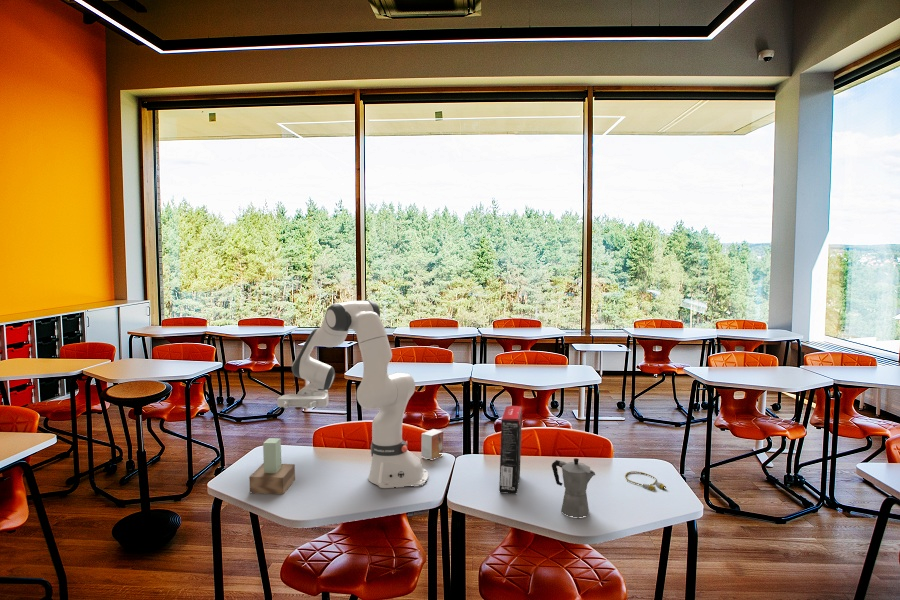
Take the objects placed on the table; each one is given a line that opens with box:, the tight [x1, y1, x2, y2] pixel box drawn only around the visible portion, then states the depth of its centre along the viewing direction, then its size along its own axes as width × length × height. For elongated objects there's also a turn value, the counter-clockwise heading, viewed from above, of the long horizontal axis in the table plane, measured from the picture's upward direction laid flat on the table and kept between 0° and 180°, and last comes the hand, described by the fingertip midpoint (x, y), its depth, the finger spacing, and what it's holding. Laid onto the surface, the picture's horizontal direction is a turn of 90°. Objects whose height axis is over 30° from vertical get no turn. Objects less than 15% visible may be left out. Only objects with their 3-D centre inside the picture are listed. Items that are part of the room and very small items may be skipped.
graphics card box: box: [498, 405, 523, 494], centre depth 196 cm, size 17×7×27 cm, turn 169°
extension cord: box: [624, 470, 667, 491], centre depth 200 cm, size 12×16×2 cm
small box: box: [420, 428, 444, 460], centre depth 223 cm, size 8×6×10 cm
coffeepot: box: [551, 458, 596, 517], centre depth 176 cm, size 15×9×18 cm, turn 50°
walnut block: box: [248, 462, 296, 495], centre depth 194 cm, size 12×12×6 cm
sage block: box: [262, 437, 282, 473], centre depth 194 cm, size 4×5×11 cm
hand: (297, 406), depth 212 cm, fingers open, 8 cm apart
